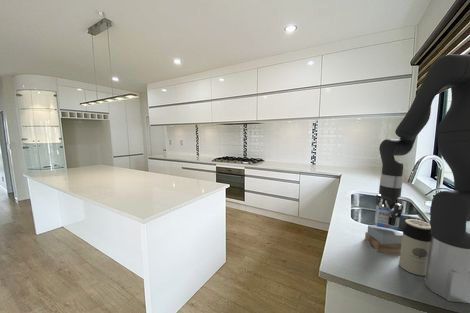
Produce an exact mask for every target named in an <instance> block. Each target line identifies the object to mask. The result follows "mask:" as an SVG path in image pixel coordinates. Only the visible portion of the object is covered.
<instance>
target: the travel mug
mask: <svg viewBox="0 0 470 313" xmlns="http://www.w3.org/2000/svg"><path fill="white" fill-rule="evenodd" d="M404 222H405V226H404V227H403V229H402V235H403V236H402V244H401V252H400V253H399V260H398V264H399V266H400V267H401V268H402V269H404V270H405V271H407V272H409V273H411V274H413V275H416V276H417V275H418V276H426V270H427V263H428V256H429V250H430V243H431V237H432V229H431V226H430V222H429V223H428V222H425V221H423V220H419V219H414V218H409V219H405V220H404Z"/></svg>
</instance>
